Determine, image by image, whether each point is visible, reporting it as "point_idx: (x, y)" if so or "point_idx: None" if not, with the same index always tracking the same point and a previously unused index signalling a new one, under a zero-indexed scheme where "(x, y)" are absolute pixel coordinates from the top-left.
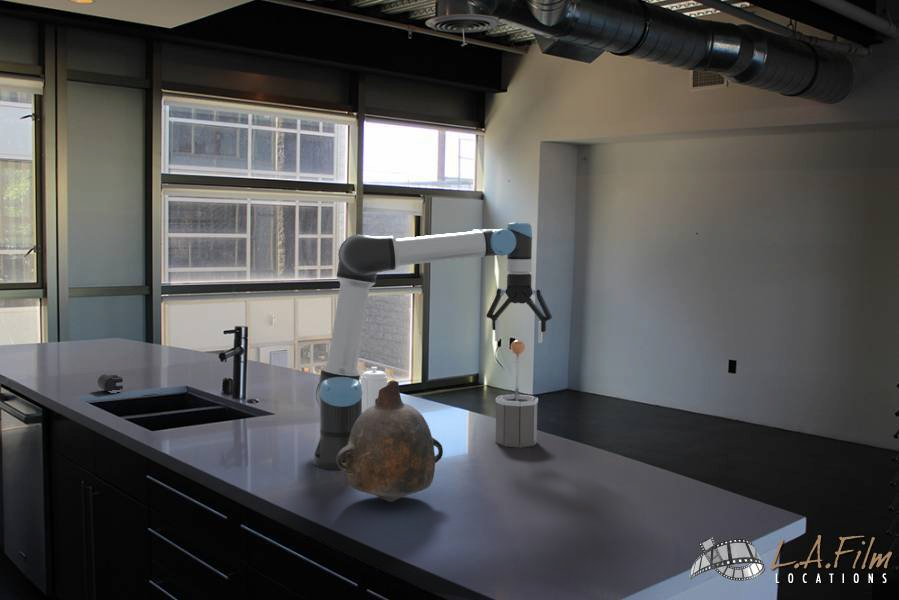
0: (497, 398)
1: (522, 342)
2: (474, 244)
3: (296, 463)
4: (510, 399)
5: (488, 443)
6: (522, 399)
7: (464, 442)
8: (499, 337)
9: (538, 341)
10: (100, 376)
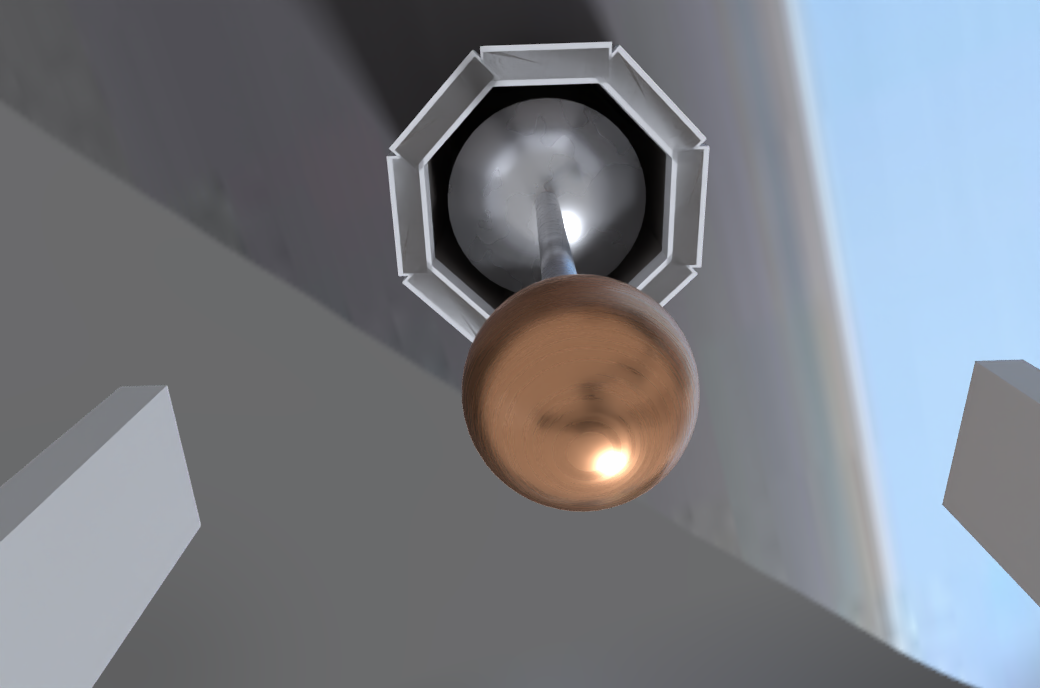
0: (692, 141)
1: (493, 426)
2: None
3: None
4: None
5: (679, 83)
6: None
7: (815, 52)
8: (978, 520)
9: (146, 395)
10: None
